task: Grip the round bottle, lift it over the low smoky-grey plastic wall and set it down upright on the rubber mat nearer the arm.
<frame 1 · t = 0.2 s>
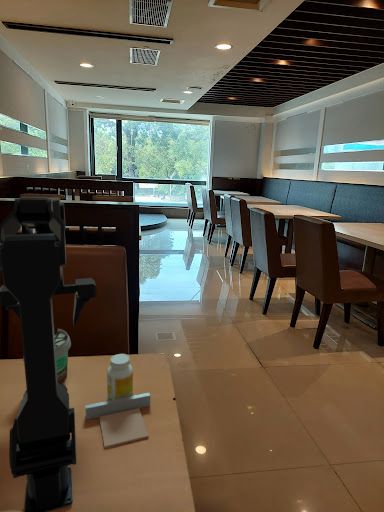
hand: (52, 328, 74), 14 cm above the table, tool pointing down, fingers open, 9 cm apart
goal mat: (123, 427, 66), on the table
food container: (56, 380, 80), on the table
supplement bottle: (120, 398, 75), on the table
low wall: (118, 410, 71), on the table
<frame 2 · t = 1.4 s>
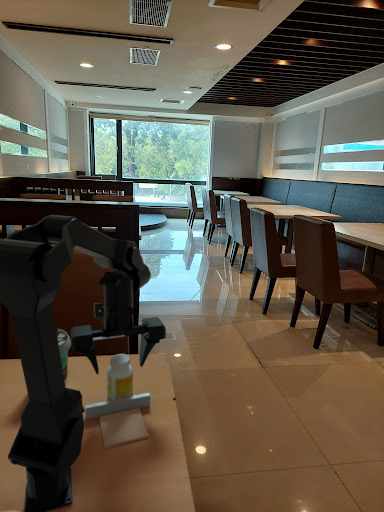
hand: (119, 369, 73), 7 cm above the table, tool pointing down, fingers open, 9 cm apart
nothing on the table moved.
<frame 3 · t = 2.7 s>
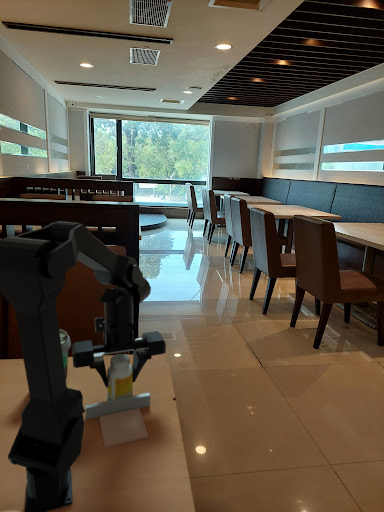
hand: (120, 383, 74), 4 cm above the table, tool pointing down, fingers closed on supplement bottle, 5 cm apart
supplement bottle: (120, 398, 75), on the table, touching gripper
everything else where it was.
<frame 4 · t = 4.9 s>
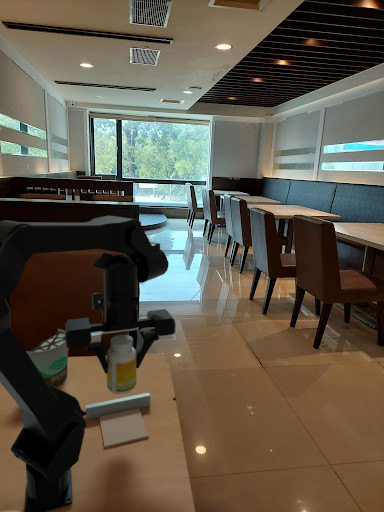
hand: (121, 369, 63), 13 cm above the table, tool pointing down, fingers closed on supplement bottle, 5 cm apart
supplement bottle: (122, 387, 64), point 9 cm above the table, touching gripper
everything else where it was.
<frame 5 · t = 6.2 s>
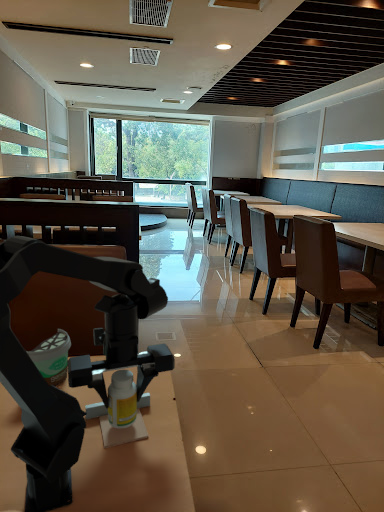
hand: (122, 403, 65), 5 cm above the table, tool pointing down, fingers closed on supplement bottle, 5 cm apart
supplement bottle: (122, 420, 66), point 2 cm above the table, touching gripper
everything else where it was.
when the fingers open (5 cm above the table, at t = 7.0 s): supplement bottle drops 1 cm, resting on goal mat.
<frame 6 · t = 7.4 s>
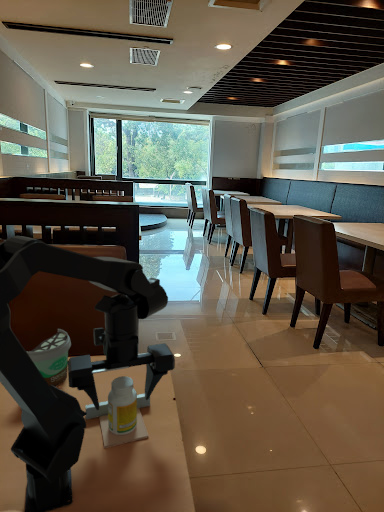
hand: (122, 403, 65), 5 cm above the table, tool pointing down, fingers open, 9 cm apart
supplement bottle: (123, 426, 66), resting on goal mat
everything else where it was.
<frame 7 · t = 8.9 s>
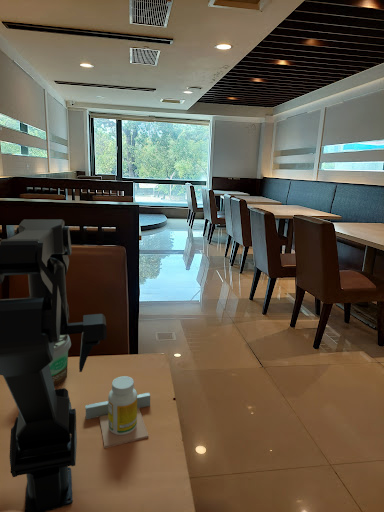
hand: (54, 374, 62), 12 cm above the table, tool pointing down, fingers open, 9 cm apart
nothing on the table moved.
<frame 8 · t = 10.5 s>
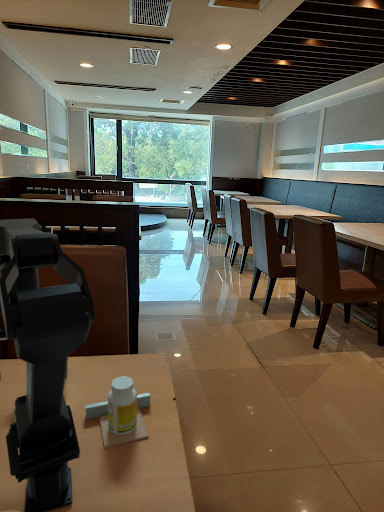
hand: (28, 376, 61), 12 cm above the table, tool pointing down, fingers open, 9 cm apart
nothing on the table moved.
at the end: supplement bottle 0.0 cm off-centre on the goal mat, point 0.2 cm above the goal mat's base; supplement bottle tilted 0°; the gripper is holding nothing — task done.
